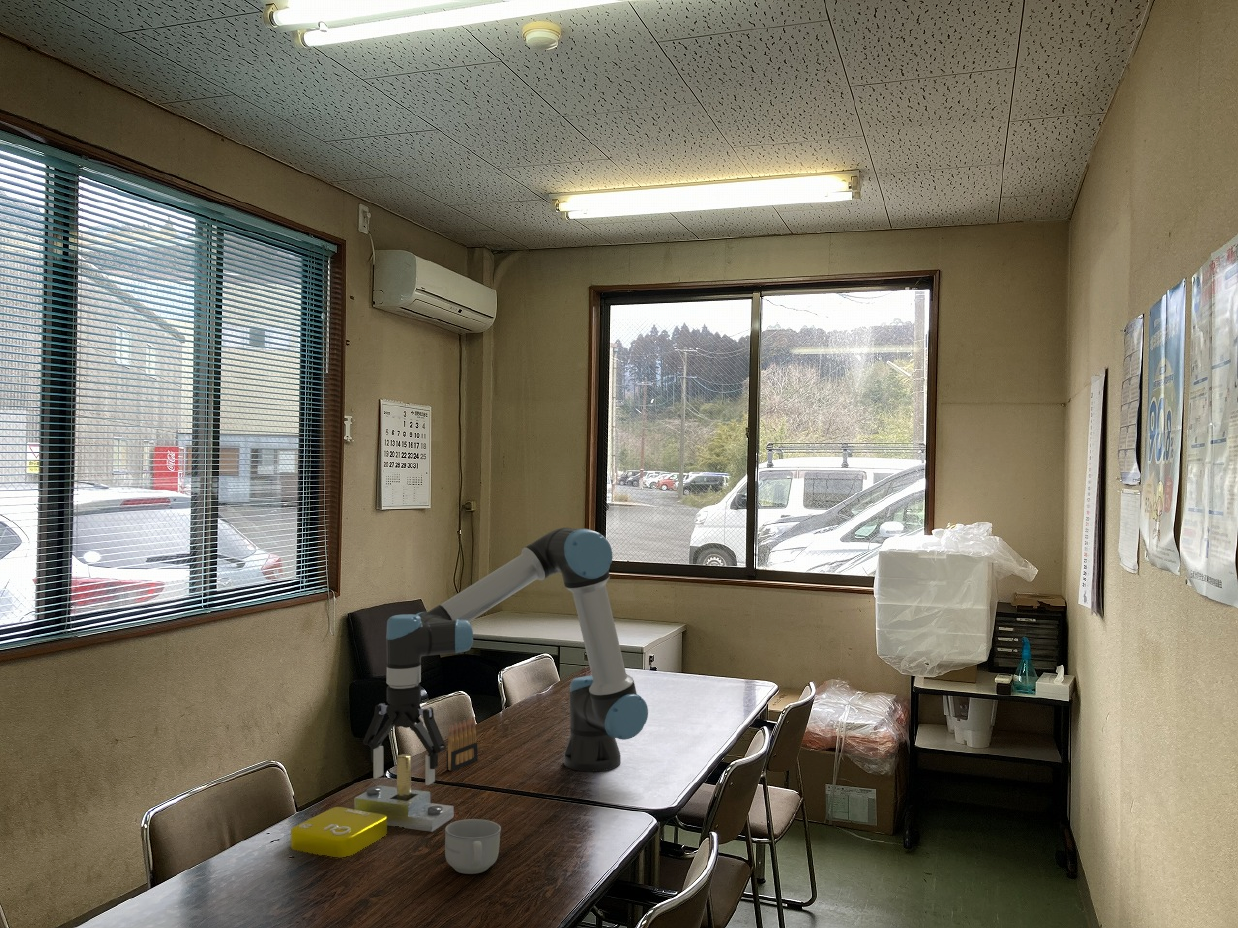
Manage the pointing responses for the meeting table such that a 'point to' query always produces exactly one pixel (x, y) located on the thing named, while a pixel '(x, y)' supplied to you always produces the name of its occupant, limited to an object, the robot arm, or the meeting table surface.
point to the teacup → (472, 845)
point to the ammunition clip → (462, 745)
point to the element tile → (338, 832)
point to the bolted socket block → (404, 808)
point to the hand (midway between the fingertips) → (404, 779)
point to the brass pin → (404, 777)
